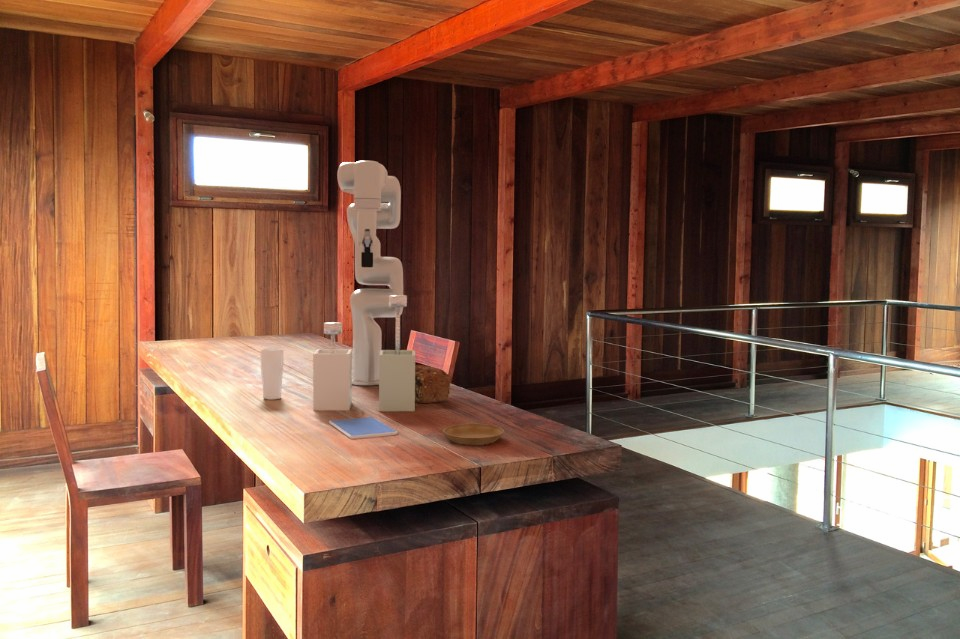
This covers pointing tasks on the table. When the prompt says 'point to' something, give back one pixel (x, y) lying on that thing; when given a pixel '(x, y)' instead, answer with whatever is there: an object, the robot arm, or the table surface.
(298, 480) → the table surface
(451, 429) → the plant saucer
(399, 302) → the silver rod piece
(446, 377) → the bread
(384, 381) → the press sage
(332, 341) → the plunger white
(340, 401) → the press white
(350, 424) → the tablet computer
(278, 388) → the drinking glass
